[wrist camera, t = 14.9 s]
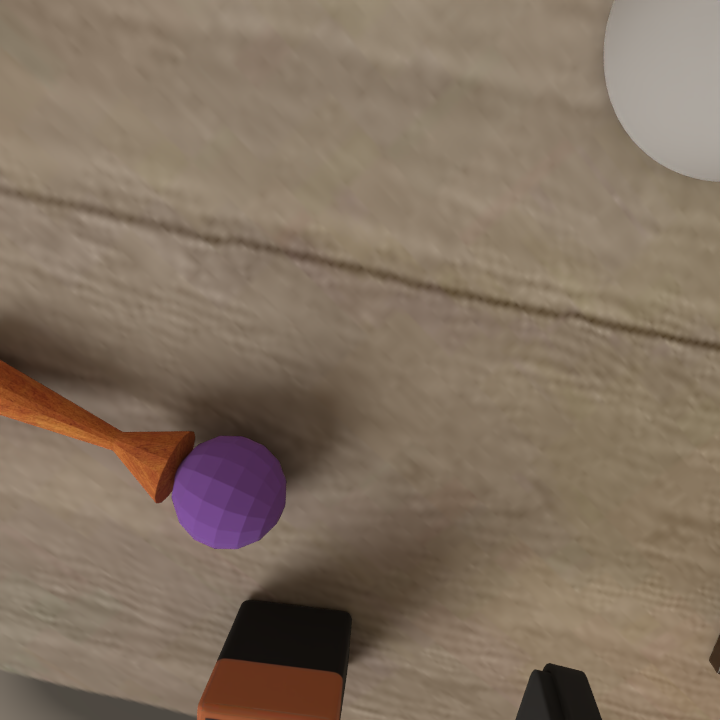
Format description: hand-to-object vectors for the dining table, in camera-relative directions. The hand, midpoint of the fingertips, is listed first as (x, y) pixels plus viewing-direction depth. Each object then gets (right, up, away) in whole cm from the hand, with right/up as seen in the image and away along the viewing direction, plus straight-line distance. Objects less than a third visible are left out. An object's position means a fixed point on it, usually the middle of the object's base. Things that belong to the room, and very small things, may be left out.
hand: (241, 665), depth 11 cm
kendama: (-11, +1, +28) cm, 30 cm away
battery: (-2, -12, +30) cm, 33 cm away
